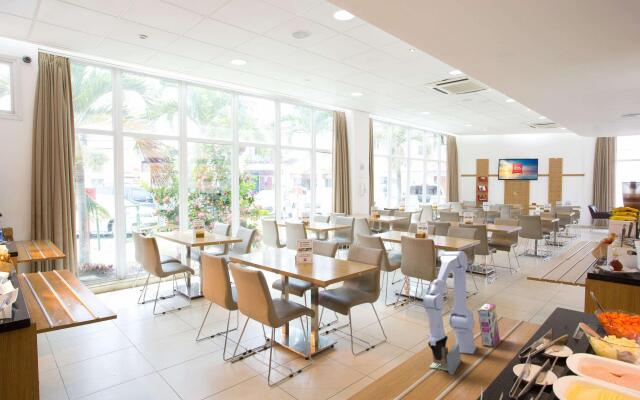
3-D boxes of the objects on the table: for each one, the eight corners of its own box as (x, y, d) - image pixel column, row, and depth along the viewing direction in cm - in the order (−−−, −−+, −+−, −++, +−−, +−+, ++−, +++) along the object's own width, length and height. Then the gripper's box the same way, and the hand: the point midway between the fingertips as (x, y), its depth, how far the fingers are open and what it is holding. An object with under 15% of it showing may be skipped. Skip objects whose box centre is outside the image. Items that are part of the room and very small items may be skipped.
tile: (435, 361, 159) (434, 359, 159) (453, 363, 155) (452, 361, 155) (429, 368, 153) (429, 366, 153) (448, 370, 149) (448, 368, 149)
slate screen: (457, 360, 157) (455, 343, 157) (461, 360, 156) (458, 343, 157) (448, 374, 145) (446, 356, 146) (452, 374, 145) (450, 356, 145)
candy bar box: (493, 347, 166) (488, 310, 167) (482, 345, 169) (477, 309, 170) (500, 339, 175) (495, 303, 175) (489, 337, 178) (484, 303, 179)
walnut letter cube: (437, 358, 157) (435, 345, 157) (449, 359, 154) (447, 346, 155) (433, 363, 153) (432, 350, 153) (446, 364, 150) (444, 351, 150)
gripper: (431, 318, 163) (435, 349, 162) (420, 328, 151) (425, 362, 150) (447, 319, 159) (452, 351, 158) (438, 329, 147) (443, 364, 146)
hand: (440, 357), depth 154 cm, fingers closed on walnut letter cube, 5 cm apart
